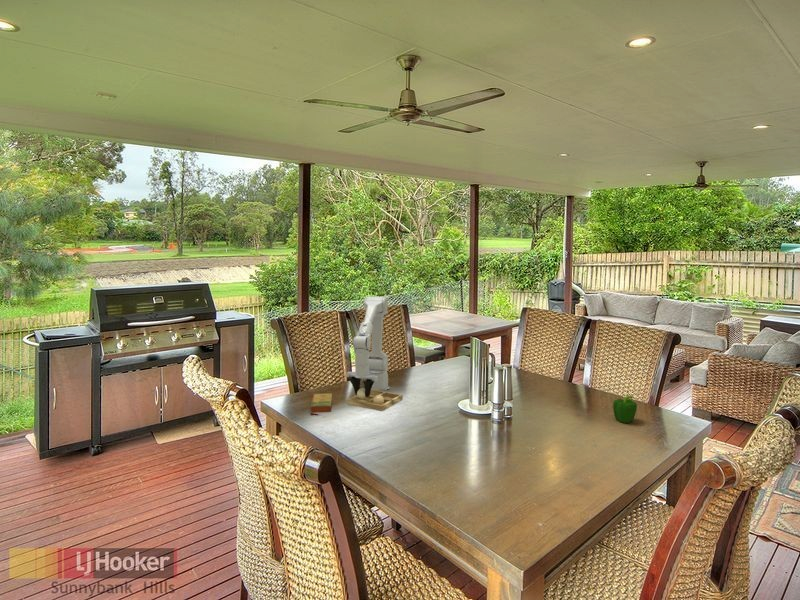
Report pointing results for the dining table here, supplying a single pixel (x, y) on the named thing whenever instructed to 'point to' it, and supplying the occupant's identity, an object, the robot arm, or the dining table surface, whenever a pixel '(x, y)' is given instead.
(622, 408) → the bell pepper
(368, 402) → the egg rack
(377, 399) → the tan ball
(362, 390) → the white egg
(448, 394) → the dining table surface
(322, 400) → the carton
